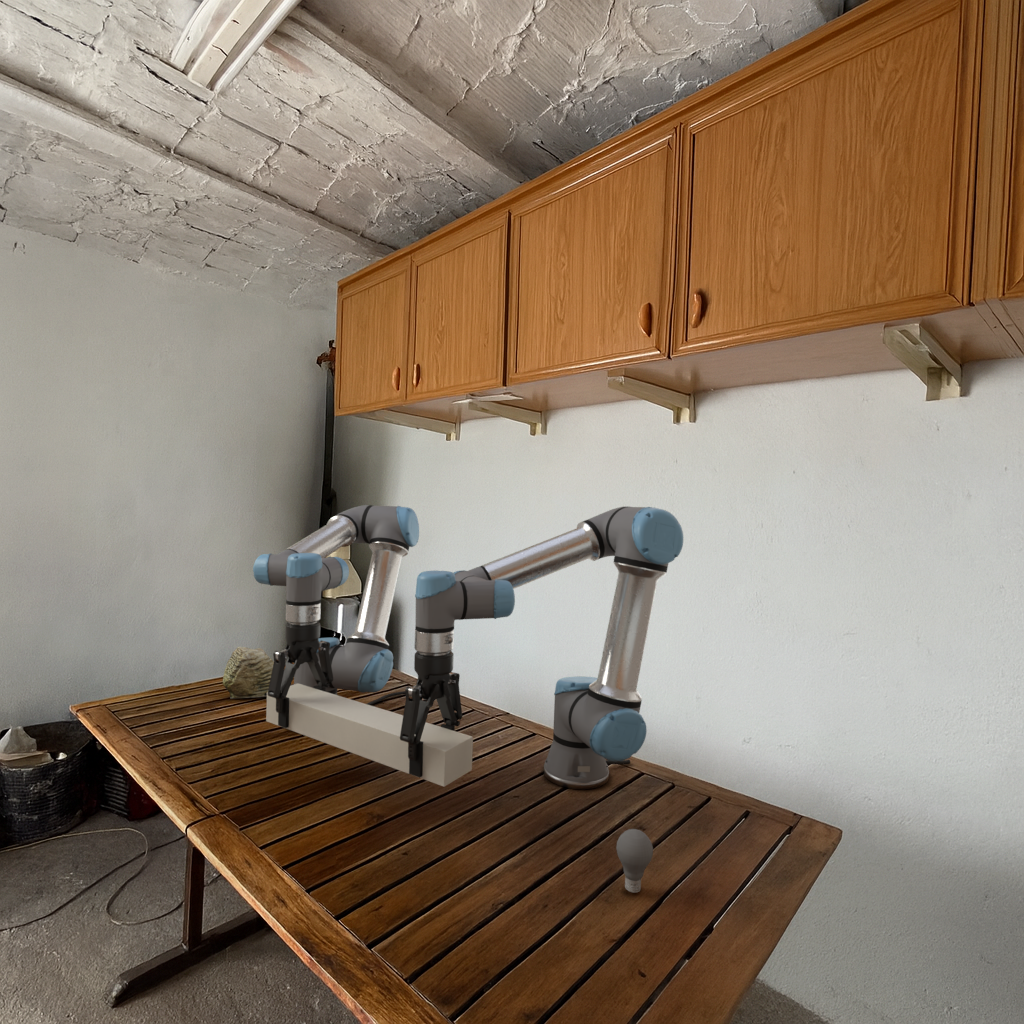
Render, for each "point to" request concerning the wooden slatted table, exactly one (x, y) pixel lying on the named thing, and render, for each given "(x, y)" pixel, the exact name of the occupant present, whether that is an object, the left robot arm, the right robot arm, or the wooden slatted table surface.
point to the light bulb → (634, 857)
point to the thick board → (373, 733)
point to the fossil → (248, 673)
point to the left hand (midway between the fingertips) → (301, 720)
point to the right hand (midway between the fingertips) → (431, 766)
